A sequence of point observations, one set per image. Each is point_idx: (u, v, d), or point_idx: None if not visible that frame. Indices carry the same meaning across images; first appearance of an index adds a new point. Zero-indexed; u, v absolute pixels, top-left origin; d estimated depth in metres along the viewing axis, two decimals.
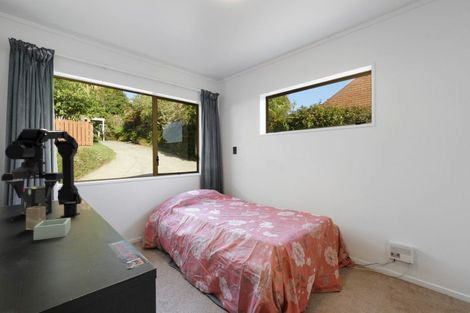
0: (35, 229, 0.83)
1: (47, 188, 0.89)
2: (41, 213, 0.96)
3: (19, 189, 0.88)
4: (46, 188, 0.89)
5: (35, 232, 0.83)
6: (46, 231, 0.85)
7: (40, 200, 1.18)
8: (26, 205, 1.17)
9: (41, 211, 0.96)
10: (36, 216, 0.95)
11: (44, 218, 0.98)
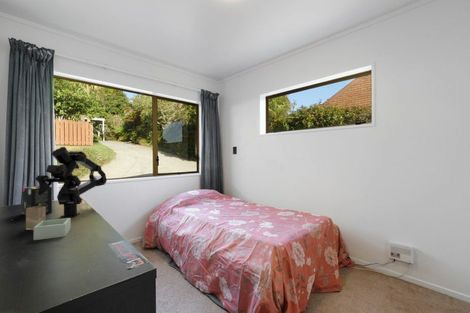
0: (35, 229, 0.83)
1: (63, 186, 1.05)
2: (41, 213, 0.96)
3: (42, 188, 1.05)
4: (63, 186, 1.05)
5: (35, 232, 0.83)
6: (46, 231, 0.85)
7: (40, 200, 1.18)
8: (26, 205, 1.17)
9: (41, 211, 0.96)
10: (36, 216, 0.95)
11: (44, 218, 0.98)
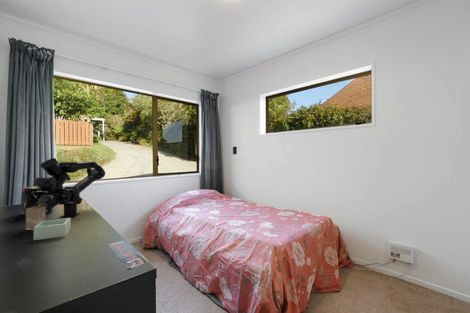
0: (35, 229, 0.83)
1: (52, 200, 0.99)
2: (41, 213, 0.96)
3: (30, 202, 0.99)
4: (51, 200, 0.99)
5: (35, 232, 0.83)
6: (46, 231, 0.85)
7: (40, 200, 1.18)
8: None
9: (41, 211, 0.96)
10: (36, 216, 0.95)
11: (44, 218, 0.98)
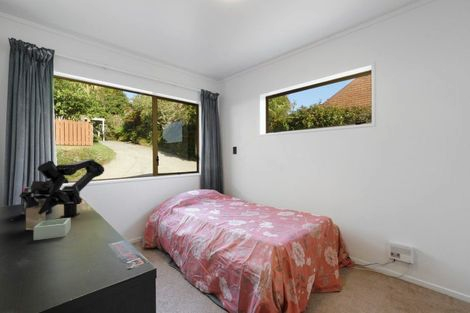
0: (35, 229, 0.83)
1: (45, 204, 0.97)
2: None
3: (31, 206, 0.97)
4: (44, 204, 0.97)
5: (35, 232, 0.83)
6: (46, 231, 0.85)
7: (40, 200, 1.18)
8: (26, 205, 1.17)
9: None
10: (36, 216, 0.95)
11: (44, 218, 0.98)
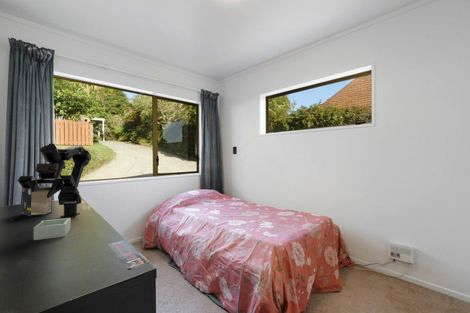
0: (35, 229, 0.83)
1: (52, 188, 0.93)
2: None
3: (35, 190, 0.91)
4: (51, 188, 0.93)
5: (35, 232, 0.83)
6: (46, 231, 0.85)
7: None
8: (26, 205, 1.17)
9: None
10: (44, 200, 0.90)
11: (50, 203, 0.93)
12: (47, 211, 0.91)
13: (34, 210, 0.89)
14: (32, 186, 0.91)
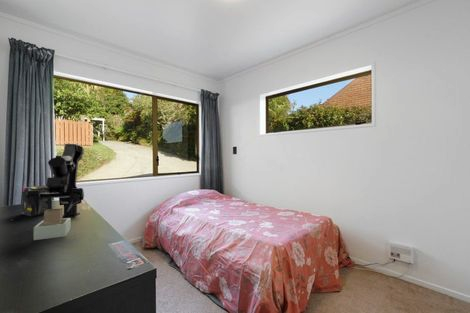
0: (35, 229, 0.83)
1: (70, 201, 0.92)
2: (61, 215, 0.90)
3: (39, 205, 0.88)
4: (69, 201, 0.92)
5: (35, 232, 0.83)
6: (46, 231, 0.85)
7: None
8: (26, 205, 1.17)
9: (61, 213, 0.90)
10: (58, 218, 0.88)
11: None
12: None
13: None
14: (36, 201, 0.88)
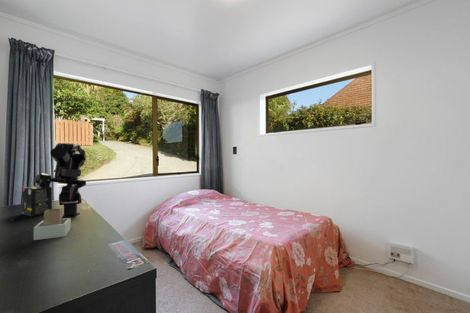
0: (35, 229, 0.83)
1: (75, 191, 1.04)
2: (61, 215, 0.90)
3: None
4: (74, 191, 1.04)
5: (35, 232, 0.83)
6: (46, 231, 0.85)
7: (40, 200, 1.18)
8: (26, 205, 1.17)
9: (61, 213, 0.90)
10: (58, 218, 0.88)
11: None
12: None
13: None
14: (47, 186, 0.95)
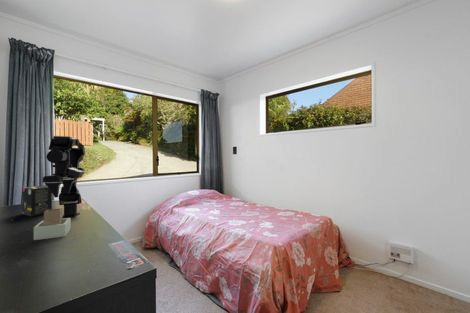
0: (35, 229, 0.83)
1: (71, 185, 1.10)
2: (61, 215, 0.90)
3: None
4: (70, 185, 1.09)
5: (35, 232, 0.83)
6: (46, 231, 0.85)
7: (40, 200, 1.18)
8: (26, 205, 1.17)
9: (61, 213, 0.90)
10: (58, 218, 0.88)
11: None
12: None
13: None
14: (58, 187, 0.99)
